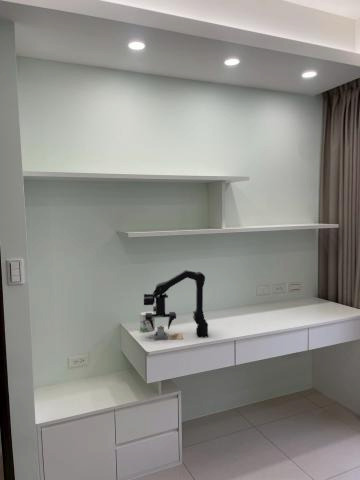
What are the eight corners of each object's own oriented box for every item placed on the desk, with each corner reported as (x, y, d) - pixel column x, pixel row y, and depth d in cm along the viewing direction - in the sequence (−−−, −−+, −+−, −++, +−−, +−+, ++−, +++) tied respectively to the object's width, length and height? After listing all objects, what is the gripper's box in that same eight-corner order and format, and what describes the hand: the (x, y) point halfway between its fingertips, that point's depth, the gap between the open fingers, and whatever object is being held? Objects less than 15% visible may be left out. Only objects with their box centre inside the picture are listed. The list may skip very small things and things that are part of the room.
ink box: (142, 332, 237) (142, 314, 236) (140, 330, 241) (139, 312, 240) (155, 330, 241) (154, 312, 240) (152, 328, 245) (151, 311, 244)
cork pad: (181, 333, 234) (181, 333, 234) (183, 339, 225) (183, 338, 225) (167, 334, 233) (167, 334, 233) (168, 339, 224) (168, 339, 224)
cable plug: (163, 335, 230) (163, 325, 230) (164, 338, 226) (164, 327, 225) (157, 336, 230) (157, 325, 229) (157, 339, 225) (157, 327, 225)
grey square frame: (166, 334, 233) (166, 331, 232) (167, 339, 224) (167, 336, 224) (154, 335, 232) (154, 332, 232) (154, 340, 223) (154, 337, 223)
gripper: (174, 300, 235) (174, 324, 236) (145, 301, 233) (145, 325, 234) (176, 305, 224) (176, 330, 225) (145, 306, 222) (145, 331, 223)
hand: (160, 329), depth 227 cm, fingers open, 9 cm apart
